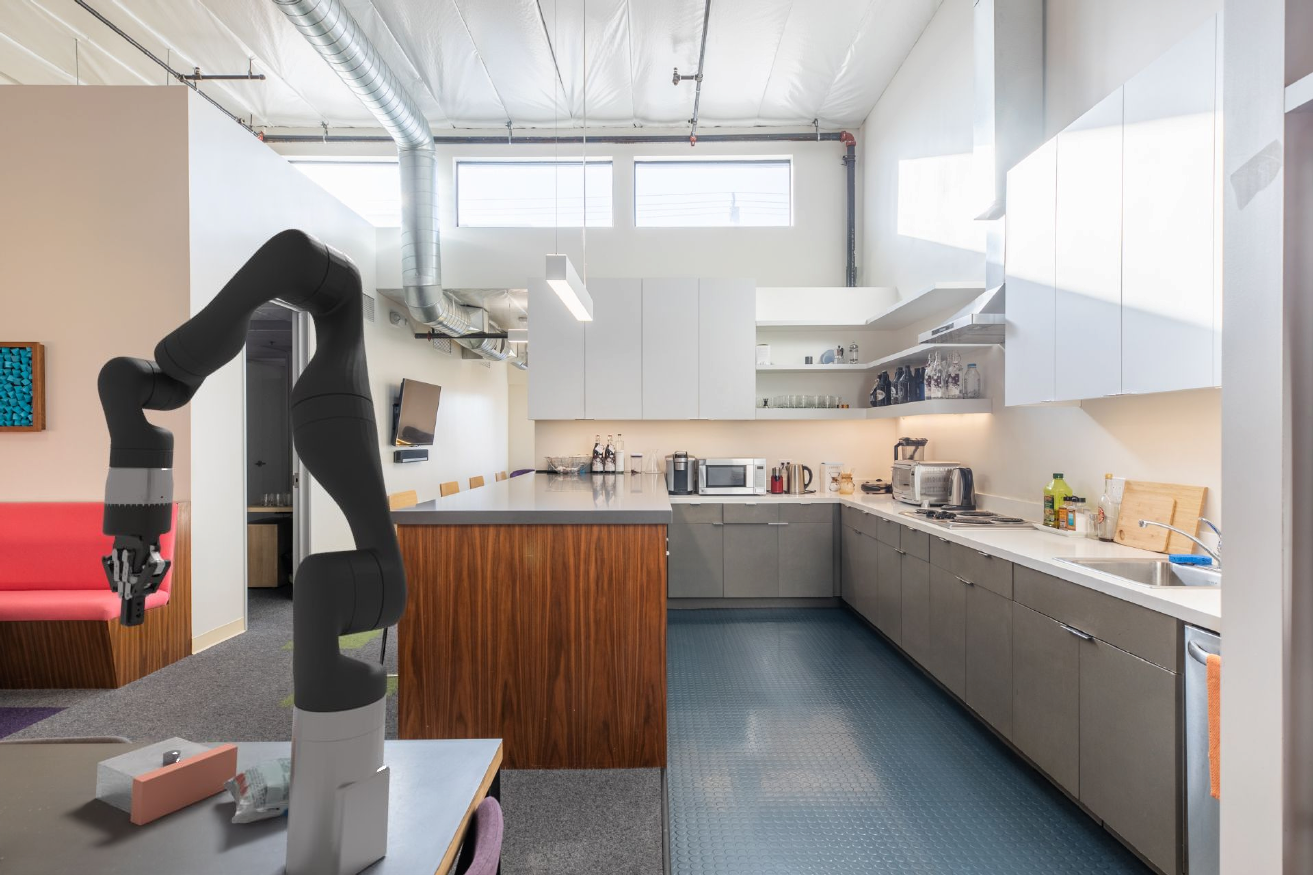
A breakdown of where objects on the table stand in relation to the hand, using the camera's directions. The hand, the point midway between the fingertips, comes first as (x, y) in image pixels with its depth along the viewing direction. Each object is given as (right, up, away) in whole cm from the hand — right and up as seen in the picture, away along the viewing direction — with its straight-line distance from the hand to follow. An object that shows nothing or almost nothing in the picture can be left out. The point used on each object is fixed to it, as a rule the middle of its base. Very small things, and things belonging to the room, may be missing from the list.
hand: (131, 624), depth 89 cm
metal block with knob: (+8, -20, -6) cm, 23 cm away
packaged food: (+25, -20, -10) cm, 33 cm away
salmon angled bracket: (+9, -20, -7) cm, 23 cm away
